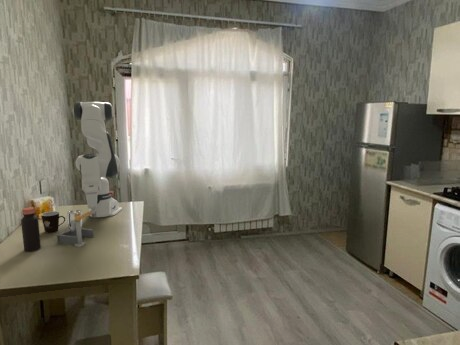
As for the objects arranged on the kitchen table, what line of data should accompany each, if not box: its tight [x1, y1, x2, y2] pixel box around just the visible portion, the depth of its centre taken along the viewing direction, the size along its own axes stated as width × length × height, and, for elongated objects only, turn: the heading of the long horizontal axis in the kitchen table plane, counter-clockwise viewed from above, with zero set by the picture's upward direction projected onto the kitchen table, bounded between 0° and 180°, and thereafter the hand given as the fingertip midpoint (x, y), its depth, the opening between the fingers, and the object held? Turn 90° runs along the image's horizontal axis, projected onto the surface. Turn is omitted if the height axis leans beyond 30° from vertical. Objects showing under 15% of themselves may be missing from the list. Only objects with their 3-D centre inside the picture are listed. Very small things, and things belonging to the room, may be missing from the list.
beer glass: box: [66, 209, 84, 240], centre depth 161 cm, size 7×7×15 cm
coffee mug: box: [40, 210, 66, 234], centre depth 173 cm, size 12×9×10 cm
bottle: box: [20, 206, 42, 253], centre depth 149 cm, size 7×7×20 cm
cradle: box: [56, 221, 95, 248], centre depth 160 cm, size 13×14×12 cm
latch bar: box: [75, 210, 98, 221], centre depth 159 cm, size 15×3×4 cm, turn 169°
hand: (93, 213), depth 162 cm, fingers closed
